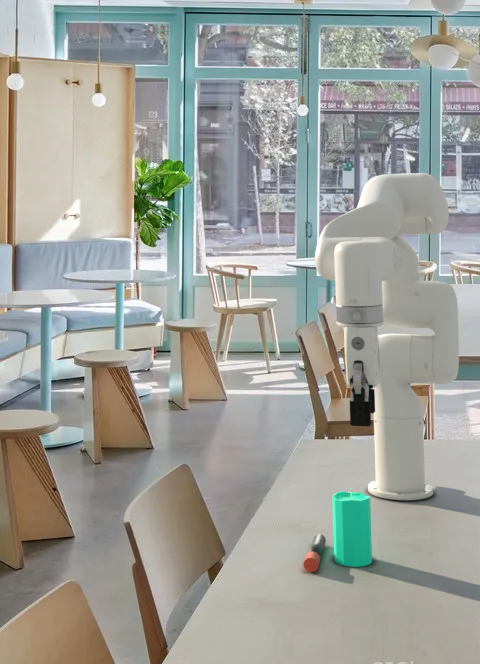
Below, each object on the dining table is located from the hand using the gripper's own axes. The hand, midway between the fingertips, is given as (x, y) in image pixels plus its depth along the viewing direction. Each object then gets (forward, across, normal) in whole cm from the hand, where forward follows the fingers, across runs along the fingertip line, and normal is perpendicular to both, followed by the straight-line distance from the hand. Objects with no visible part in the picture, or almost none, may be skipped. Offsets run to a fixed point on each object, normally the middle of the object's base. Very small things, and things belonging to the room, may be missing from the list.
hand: (363, 419), depth 169 cm
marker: (+22, -3, +8) cm, 24 cm away
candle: (+23, -3, +2) cm, 23 cm away
